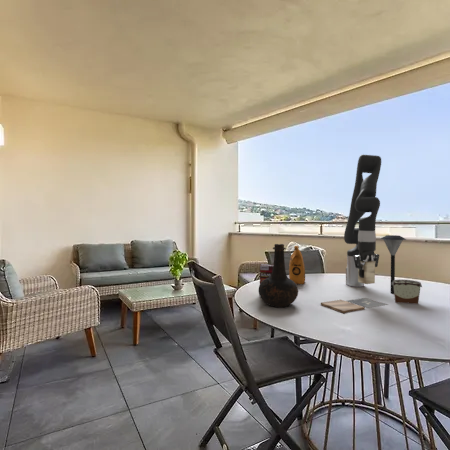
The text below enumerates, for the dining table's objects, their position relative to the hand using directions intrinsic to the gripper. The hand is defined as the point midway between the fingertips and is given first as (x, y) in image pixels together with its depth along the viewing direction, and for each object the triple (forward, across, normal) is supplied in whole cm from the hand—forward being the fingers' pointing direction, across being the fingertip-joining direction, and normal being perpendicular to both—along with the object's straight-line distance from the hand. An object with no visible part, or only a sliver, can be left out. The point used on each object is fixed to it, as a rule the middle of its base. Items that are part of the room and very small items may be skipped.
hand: (366, 276), depth 150 cm
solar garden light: (+13, -27, -8) cm, 31 cm away
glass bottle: (+12, +38, -15) cm, 43 cm away
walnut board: (+12, +15, 0) cm, 19 cm away
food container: (+12, -18, +6) cm, 23 cm away
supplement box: (+13, +34, -30) cm, 47 cm away
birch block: (+3, 0, 0) cm, 3 cm away
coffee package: (+13, +1, -52) cm, 53 cm away
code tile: (+12, 0, 0) cm, 12 cm away
